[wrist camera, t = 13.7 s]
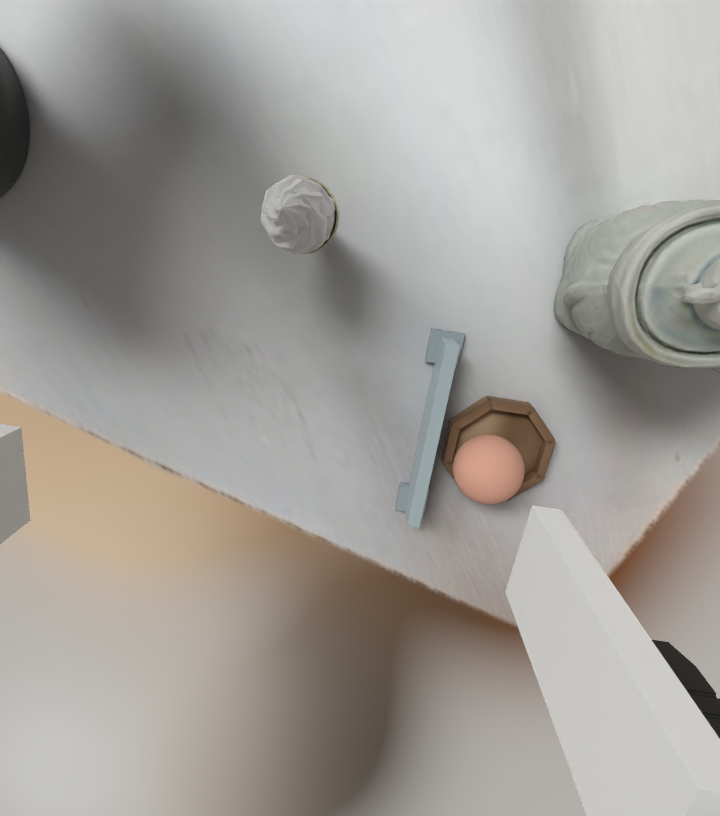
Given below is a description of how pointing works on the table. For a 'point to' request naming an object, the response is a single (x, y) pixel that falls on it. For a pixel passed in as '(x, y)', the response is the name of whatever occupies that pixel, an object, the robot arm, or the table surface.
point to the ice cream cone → (299, 214)
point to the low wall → (430, 423)
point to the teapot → (647, 283)
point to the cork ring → (503, 434)
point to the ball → (488, 469)
